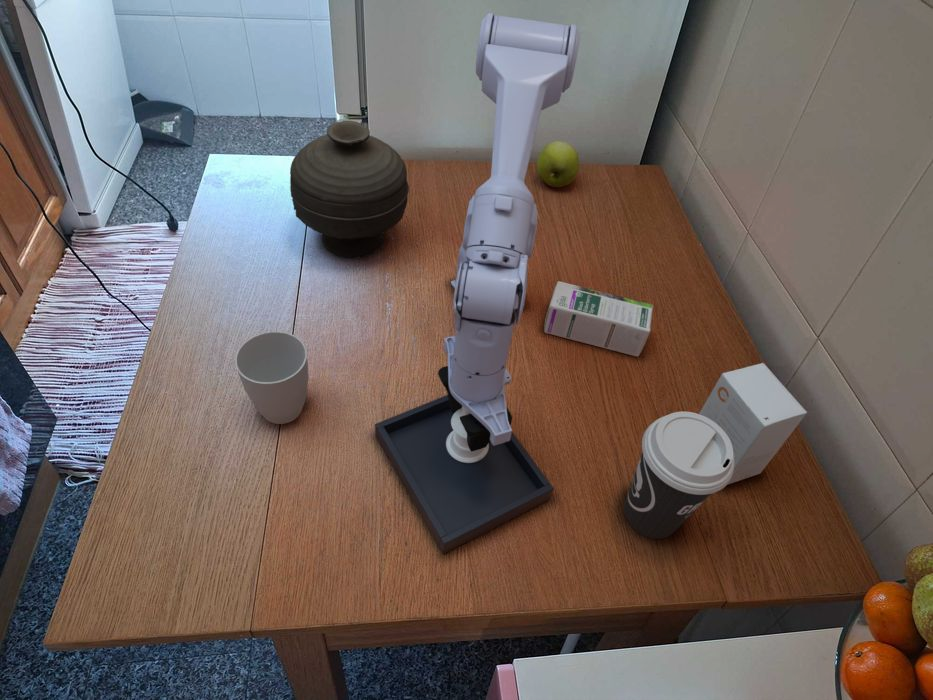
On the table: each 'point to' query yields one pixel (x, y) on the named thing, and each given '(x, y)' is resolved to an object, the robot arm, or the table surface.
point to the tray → (459, 476)
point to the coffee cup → (677, 472)
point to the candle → (462, 441)
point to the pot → (349, 189)
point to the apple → (558, 164)
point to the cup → (274, 374)
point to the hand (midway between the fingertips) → (469, 430)
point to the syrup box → (598, 318)
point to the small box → (753, 416)
